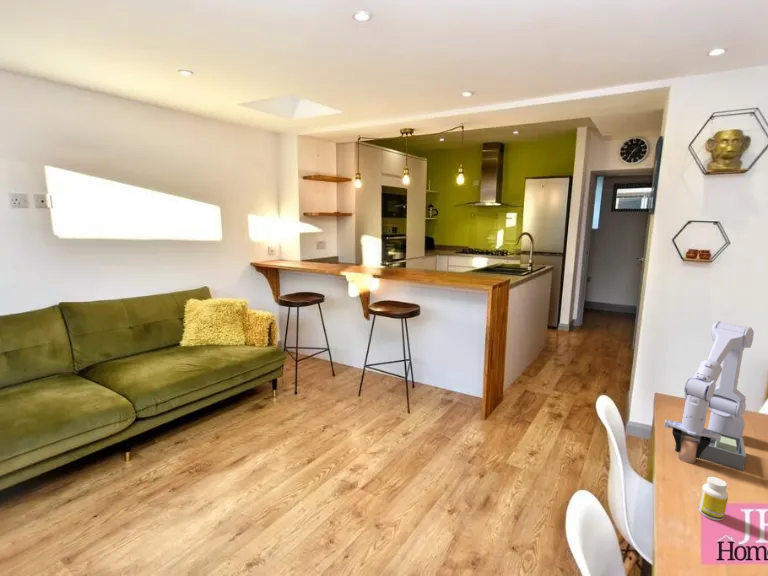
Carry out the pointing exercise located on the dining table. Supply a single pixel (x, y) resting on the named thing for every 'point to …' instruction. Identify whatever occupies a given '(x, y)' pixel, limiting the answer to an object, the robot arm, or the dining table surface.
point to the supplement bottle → (713, 499)
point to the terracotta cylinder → (688, 449)
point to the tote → (723, 452)
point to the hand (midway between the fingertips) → (687, 453)
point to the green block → (726, 444)
